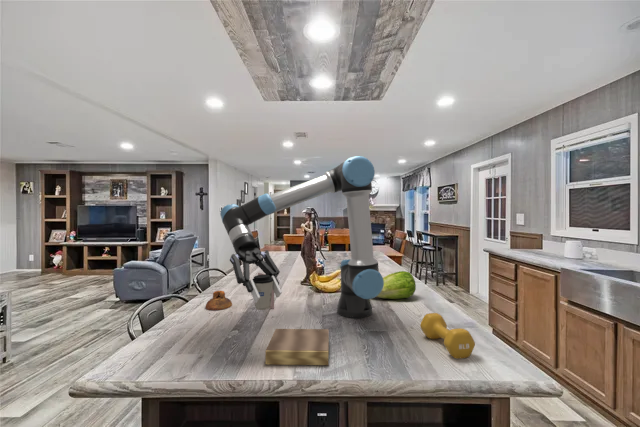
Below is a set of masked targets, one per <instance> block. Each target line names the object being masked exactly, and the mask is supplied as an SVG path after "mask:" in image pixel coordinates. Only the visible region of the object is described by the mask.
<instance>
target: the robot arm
mask: <svg viewBox="0 0 640 427" xmlns="http://www.w3.org/2000/svg"><path fill="white" fill-rule="evenodd" d="M375 173H376V172H375V167H374V165H373V163H372V161H371V160H370V159H368V158H367V157H365V156H362V155H360V156H359V155H356V156H351V157H348V158H347V159H346V160H345V161H343V162H342V163H339V164H338V165H337V166H336V167H334V168H332V169H330V170H328V171H327V170H326V171H325V173H324V175H320V176H318V177H315V178H312V179H310V180H307V181H304V182H302V183H299V184H296V185H294V186H291V187H288V188H285V189H282V190H279V191H277V192H274V193H272V194H269V193H266V192H265V193H264V194H262V195H259V196H258V197H255V198H254V199H251V200H250V201H248V202H246V203H243V204H242V205H240V206H239V205H238V204H236V203H231V204H227V205H225V206H223V207H222V209H221V210H220V213H219V214H220V218H221V221H222V224H223V226H224V228H225V231H226V232H227V235H228V237H229V240H230V242H231V245H232V247H233V250H234V252H235V254H234V253H233V254H231V255H230V259H229V262H230V263H231V265H232V268H233V270H234V272H233V273H234V275H235V279H236V282H237V284H238V285H241V284H242V286H243V287H245V289H246V291H247V293H250V294H251V296H252V298H253V301H254V304H255V303H256V302H258V300H259V299H260V295H259V293H258V291H257V288H256V286H255V284H254V282H253V279H254V278H250V277H251V276H250V265H251V264H253V265H255V266H256V267H259V269H260V270H261V271H262V273H263V274H266V275H270V277H271V278H273V280H274V281H273V286H272V289H273V291H274V296H275V297H276V298H277V299H279V297H280V296H281V294H282V293H283V292H282V289H281V288H280V281H279V279H278V276H279V275H280V273H281V271H280V270H279V268H278V267H277V264H276V263H275V262H274V260H273V259H272V257H271V255H270V252H269V250H267V249H266V250H265V251H261V249H260V248H259V247H258V243H257V241H256V239H255V237H254V234H253V233H252V231H251V229H250V226H249V225H252V224H253V223H255V222H257V221H259V220H261V219H263V218H265V217H267V216H270V215H272V214H274V213H278V212H279V211H282V210H286V209H288V208H290V207H294V206H296V205H298V204H301V203H304V202H307V201H309V200H313V199H315V198H317V197H320V196H323V195H325V194H328V193H333V194H335V193H337V192H341V194H342V195H343V196H344V197H345V198H346V208H347V220H348V222H347V223H348V233H349V235H348V236H349V244H350V245H349V246H350V247H349V248H350V256H351V257H350V258H351V259H348V258H347V259H342V260H341V263H340V296H339V300H338V303H337V305H336V312H337V314H338V315H340V316H342V317H346V318H351V319H354V318H355V319H359V318H367V317H369V316H371V315H372V314H373V307H372V306H373V305H372V303H371V301H370V300H372V299H374V298H377V297H376V296H378V294H379V293H380V292H381V291H382V289H383V285H384V280H383V277H384V276H383V275H382V274H381V273H380V270H379V268H380V267H379V261H378V259H377V258H375V257H374V256H375V255H374V247H373V245H374V244H373V233H372V232H373V231H372V223H371V222H372V221H371V220H372V219H371V210H370V197H369V196H370V194H371V193H372V192H373V185H372V181H373V180H374V178H375ZM240 261H241V262H242V268H243V271H242V268H241V263H240Z"/></svg>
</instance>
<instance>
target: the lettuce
mask: <svg viewBox="0 0 640 427" xmlns="http://www.w3.org/2000/svg"><path fill="white" fill-rule="evenodd" d="M382 277H383V280H384V285H383V289H382V291H381V292H380V293H379V294H378V296H376V297H375V298H380V299H388V300H389V299H390V300H399V299H409V298H410V297H411V296H413V295H414V294H415V292H416V290H417V289H416V288H417V287H416V286H417V285H416V281H415V278H414V276H413V274H412V273H410V271H405V270H402V271H401V270H400V271H395V272H391V273H389V274H387V275H386V276H382Z"/></svg>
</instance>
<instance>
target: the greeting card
mask: <svg viewBox="0 0 640 427" xmlns="http://www.w3.org/2000/svg"><path fill="white" fill-rule="evenodd" d="M257 275H266V274H265V273H263V272H262V273H261V272H258V273H257ZM269 309H272V310H275V293H274V291H273V289H272V297H271V307H270V308H269Z"/></svg>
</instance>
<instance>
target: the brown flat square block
mask: <svg viewBox="0 0 640 427" xmlns="http://www.w3.org/2000/svg"><path fill="white" fill-rule="evenodd" d="M329 332H330V330H329V328H275V329H274V331H273V334H272V336H271V338H270V341H269V342H268V345H267V347H266V348H265V354H264V355H265V356H264V358H265V365H270V366H271V365H273V366H274V365H276V366H277V365H280V366H281V365H283V366H284V365H285V366H286V365H287V366H291V365H292V366H329V356H330V355H329V354H330V353H329V346H330V345H329V344H330V341H329V339H330V337H329V336H330V333H329Z"/></svg>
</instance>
